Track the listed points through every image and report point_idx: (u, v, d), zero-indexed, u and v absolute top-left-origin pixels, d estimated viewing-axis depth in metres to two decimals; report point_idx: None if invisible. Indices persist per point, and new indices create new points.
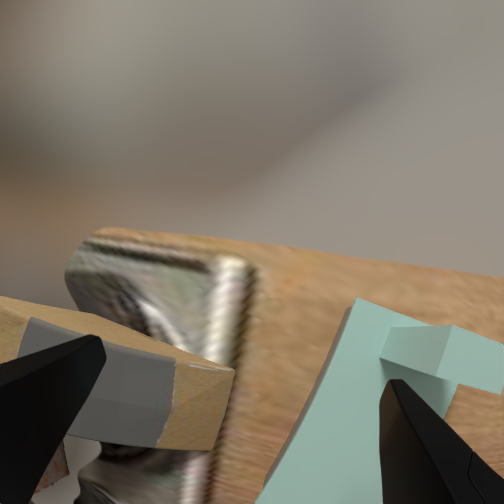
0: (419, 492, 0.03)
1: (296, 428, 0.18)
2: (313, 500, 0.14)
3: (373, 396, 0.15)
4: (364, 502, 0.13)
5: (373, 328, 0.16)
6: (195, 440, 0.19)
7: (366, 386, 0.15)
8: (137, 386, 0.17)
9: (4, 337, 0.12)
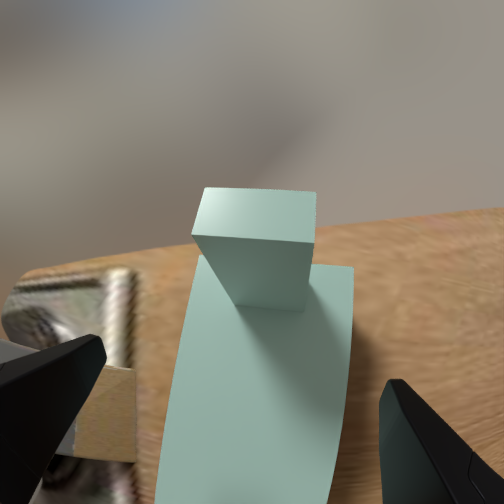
0: (419, 492, 0.03)
1: None
2: (217, 491, 0.12)
3: (240, 348, 0.15)
4: (286, 490, 0.11)
5: None
6: (112, 448, 0.16)
7: (228, 338, 0.16)
8: None
9: None
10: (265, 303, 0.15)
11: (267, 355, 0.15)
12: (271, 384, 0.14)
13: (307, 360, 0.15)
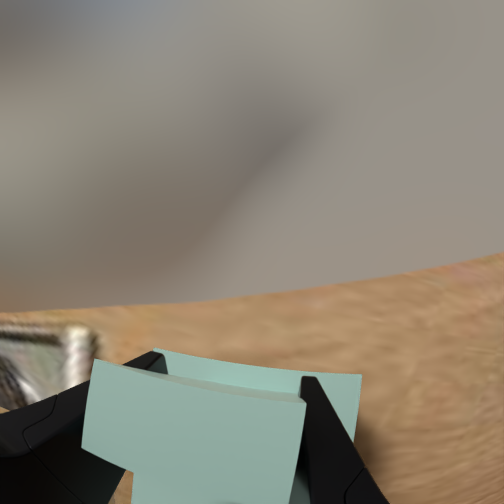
0: (300, 499, 0.04)
1: None
2: None
3: None
4: None
5: None
6: None
7: None
8: None
9: None
10: None
11: None
12: None
13: None
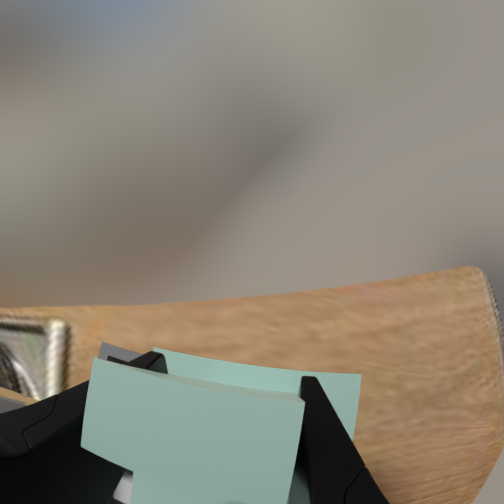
0: (300, 499, 0.04)
1: None
2: None
3: None
4: None
5: None
6: None
7: None
8: None
9: None
10: None
11: None
12: None
13: None
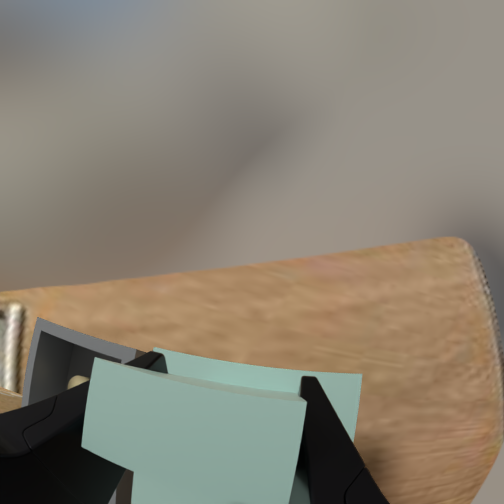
0: (300, 499, 0.04)
1: None
2: None
3: None
4: None
5: None
6: None
7: None
8: None
9: None
10: None
11: None
12: None
13: None
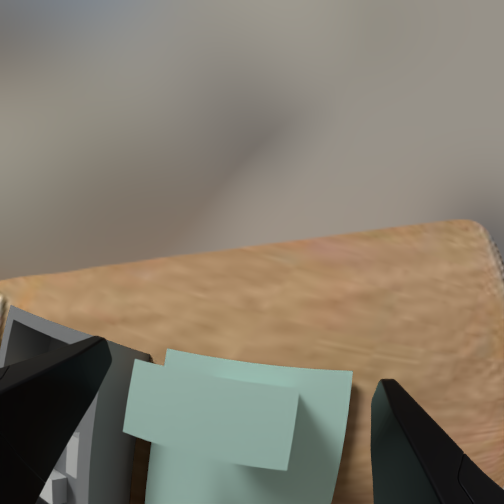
0: (408, 494, 0.03)
1: None
2: None
3: (215, 459, 0.11)
4: None
5: None
6: None
7: None
8: None
9: None
10: None
11: (245, 469, 0.11)
12: (250, 495, 0.10)
13: (290, 475, 0.11)
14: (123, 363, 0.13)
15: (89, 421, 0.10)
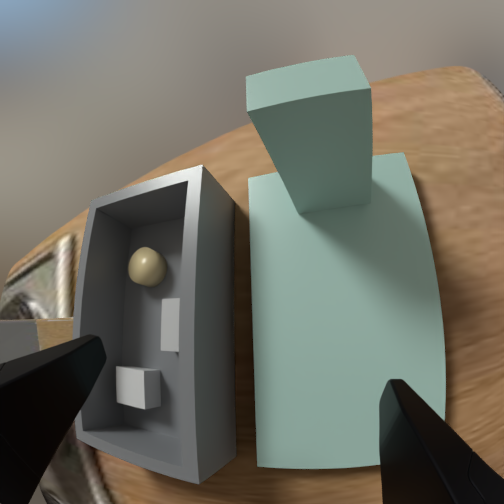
0: (419, 492, 0.03)
1: None
2: (326, 428, 0.12)
3: (316, 255, 0.15)
4: None
5: (277, 193, 0.16)
6: None
7: (301, 248, 0.15)
8: (12, 348, 0.16)
9: None
10: (330, 200, 0.14)
11: (347, 255, 0.14)
12: (359, 284, 0.13)
13: (388, 250, 0.13)
14: (215, 193, 0.16)
15: (192, 238, 0.14)
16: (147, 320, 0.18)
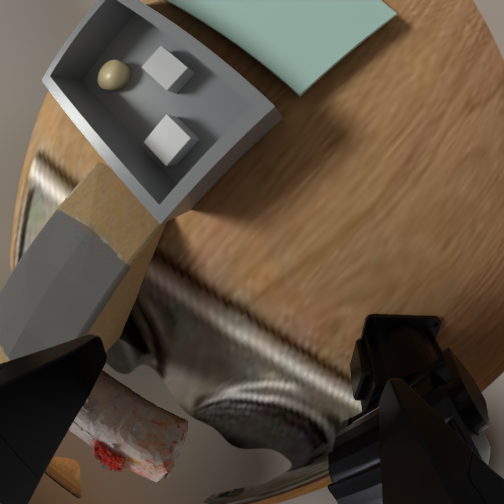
0: (419, 492, 0.03)
1: None
2: (310, 35, 0.14)
3: None
4: None
5: None
6: (143, 219, 0.20)
7: None
8: (55, 248, 0.17)
9: None
10: None
11: None
12: None
13: None
14: None
15: (138, 4, 0.12)
16: (140, 102, 0.18)
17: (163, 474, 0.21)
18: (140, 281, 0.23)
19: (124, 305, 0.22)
